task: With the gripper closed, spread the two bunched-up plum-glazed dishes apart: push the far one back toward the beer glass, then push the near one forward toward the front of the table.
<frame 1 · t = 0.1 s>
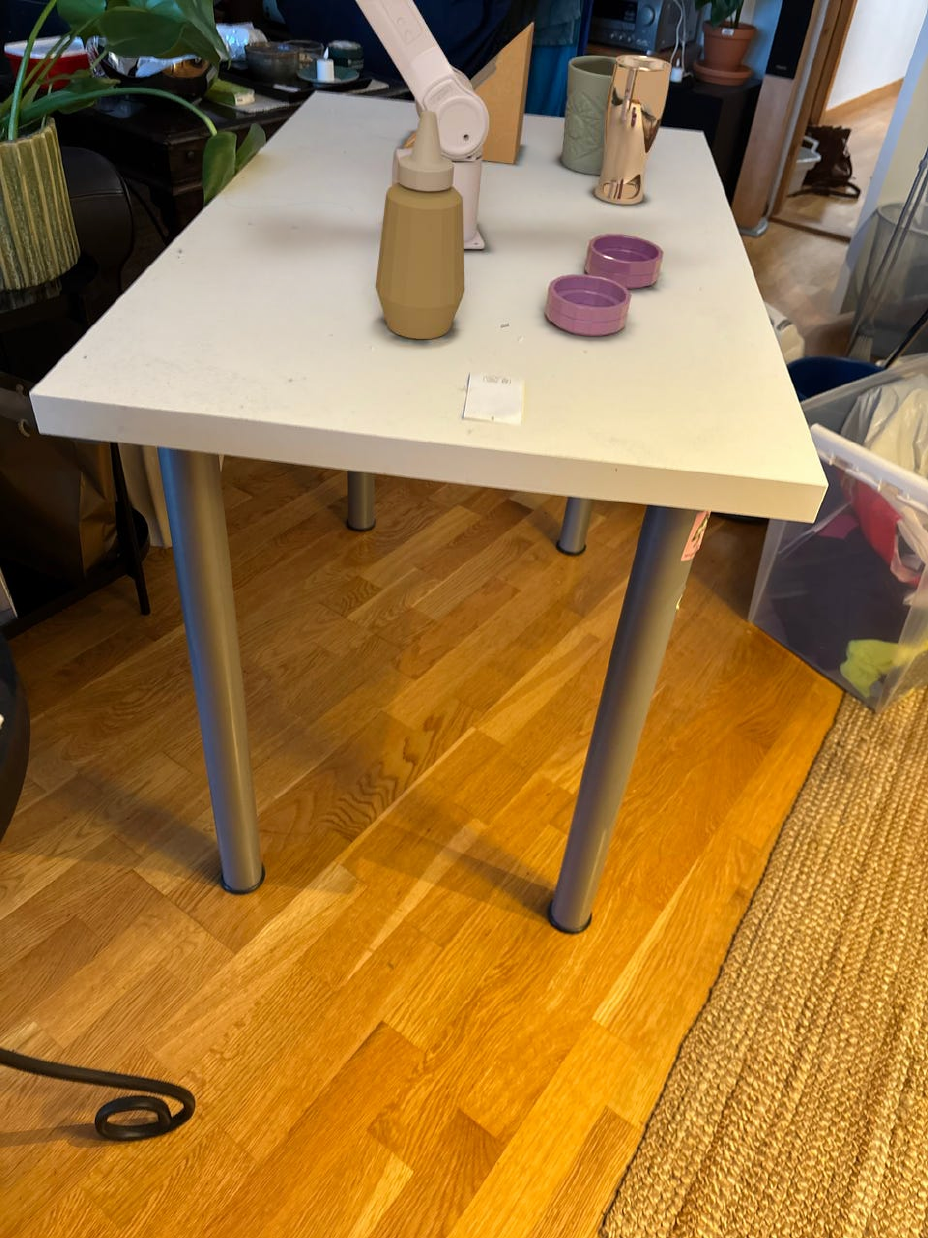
green vase: (591, 166, 124), on the table
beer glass: (617, 197, 116), on the table
squeeze bottle: (418, 328, 85), on the table
dish near: (584, 320, 88), on the table
dish far: (620, 276, 97), on the table
sandwich container: (462, 149, 126), on the table
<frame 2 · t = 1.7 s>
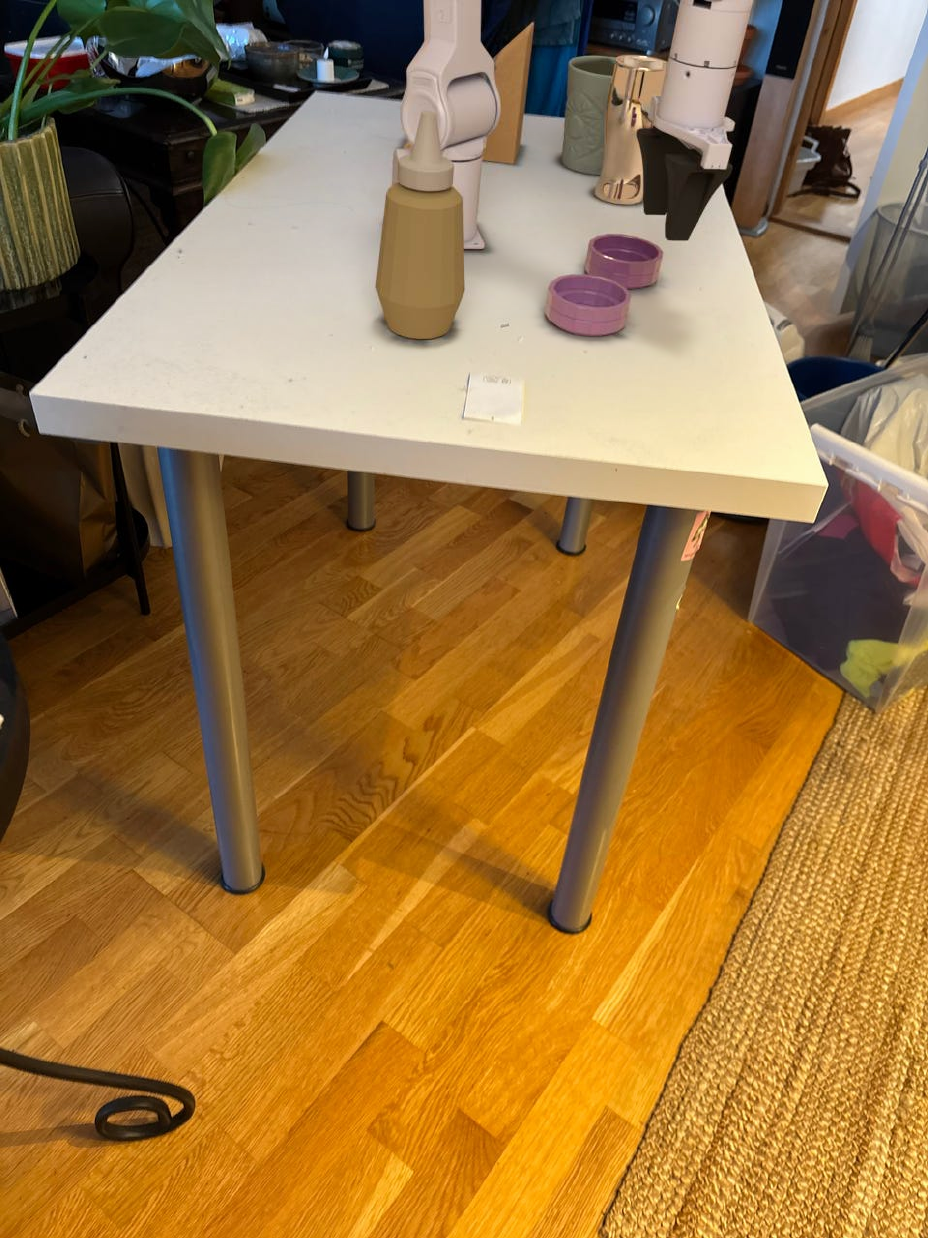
hand: (665, 226, 85), 8 cm above the table, tool pointing down, fingers open, 6 cm apart
nothing on the table moved.
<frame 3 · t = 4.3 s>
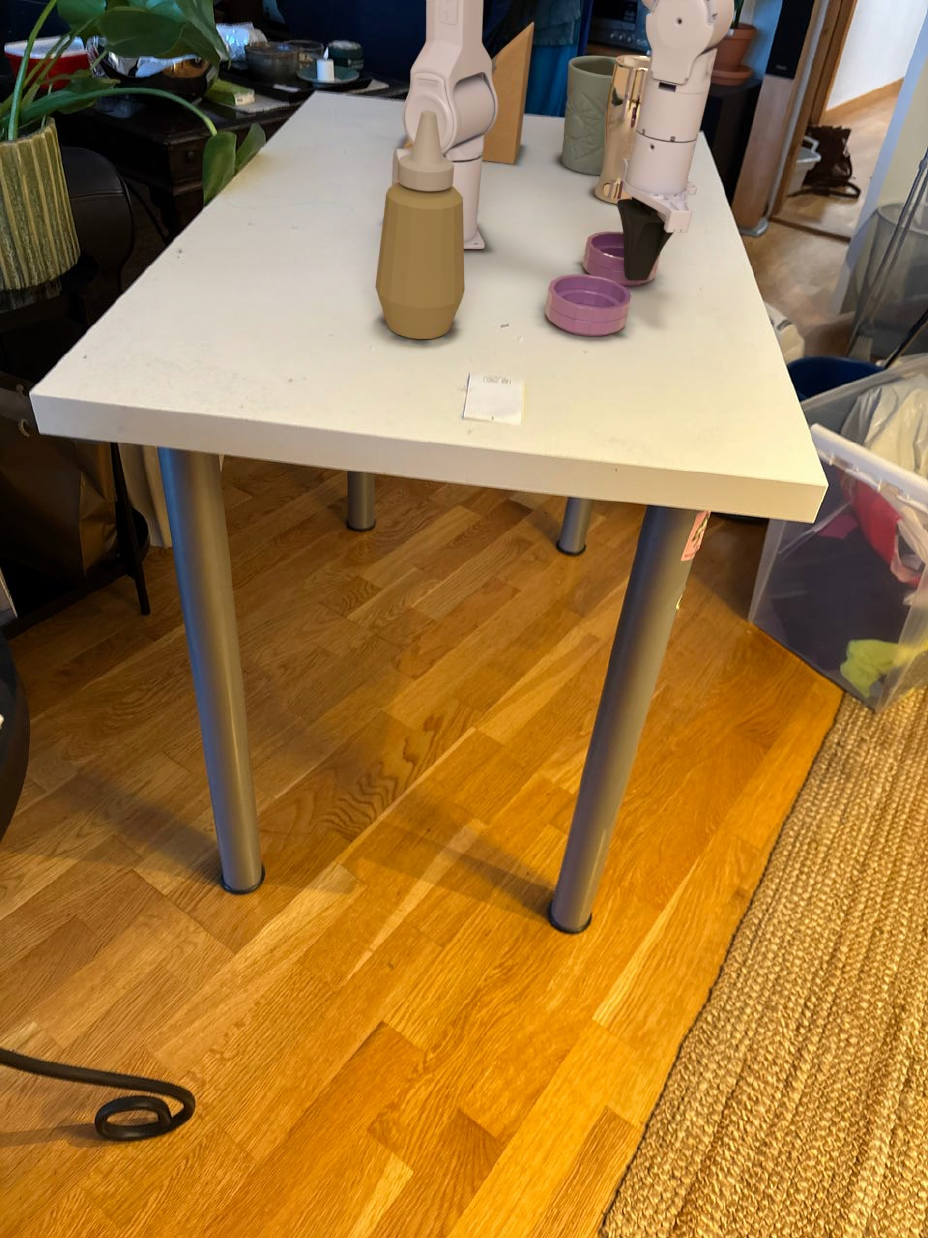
hand: (635, 277, 93), 2 cm above the table, tool pointing down, fingers closed
dish far: (618, 273, 98), on the table, touching gripper
everything else where it was.
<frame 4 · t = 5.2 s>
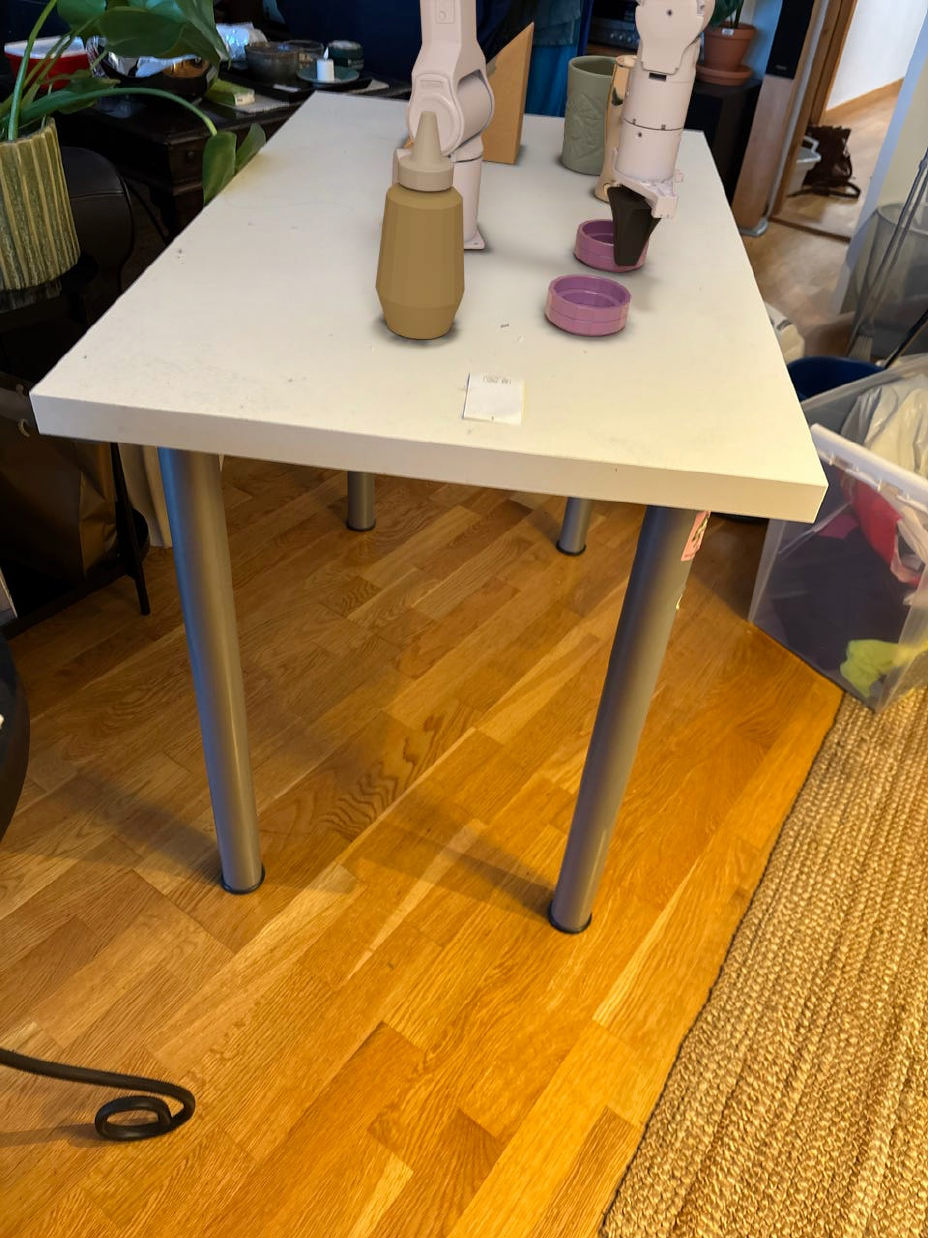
hand: (624, 263, 96), 2 cm above the table, tool pointing down, fingers closed
dish far: (608, 259, 100), on the table, touching gripper
everything else where it was.
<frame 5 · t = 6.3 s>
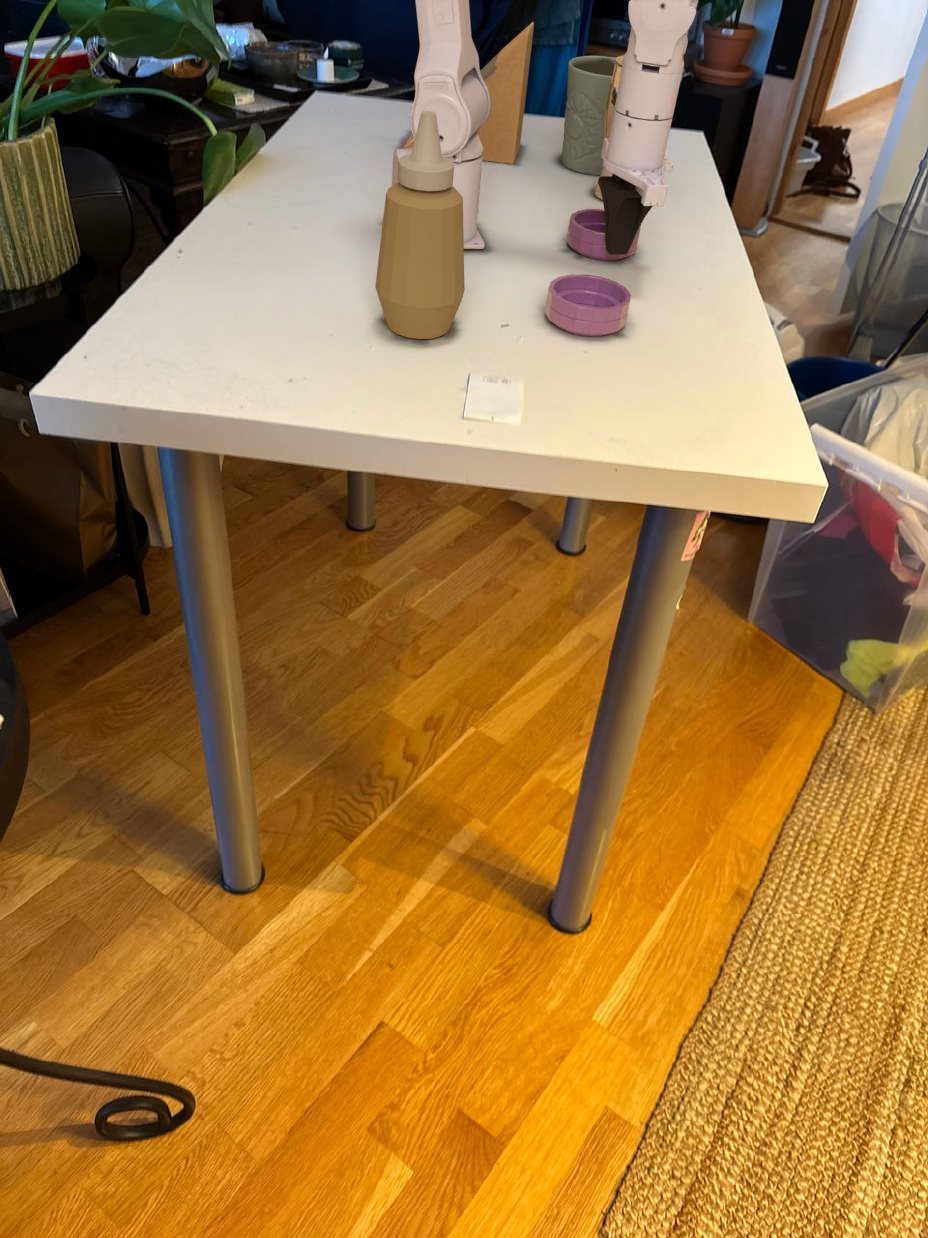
hand: (616, 251, 98), 2 cm above the table, tool pointing down, fingers closed
dish far: (600, 248, 102), on the table, touching gripper
everything else where it was.
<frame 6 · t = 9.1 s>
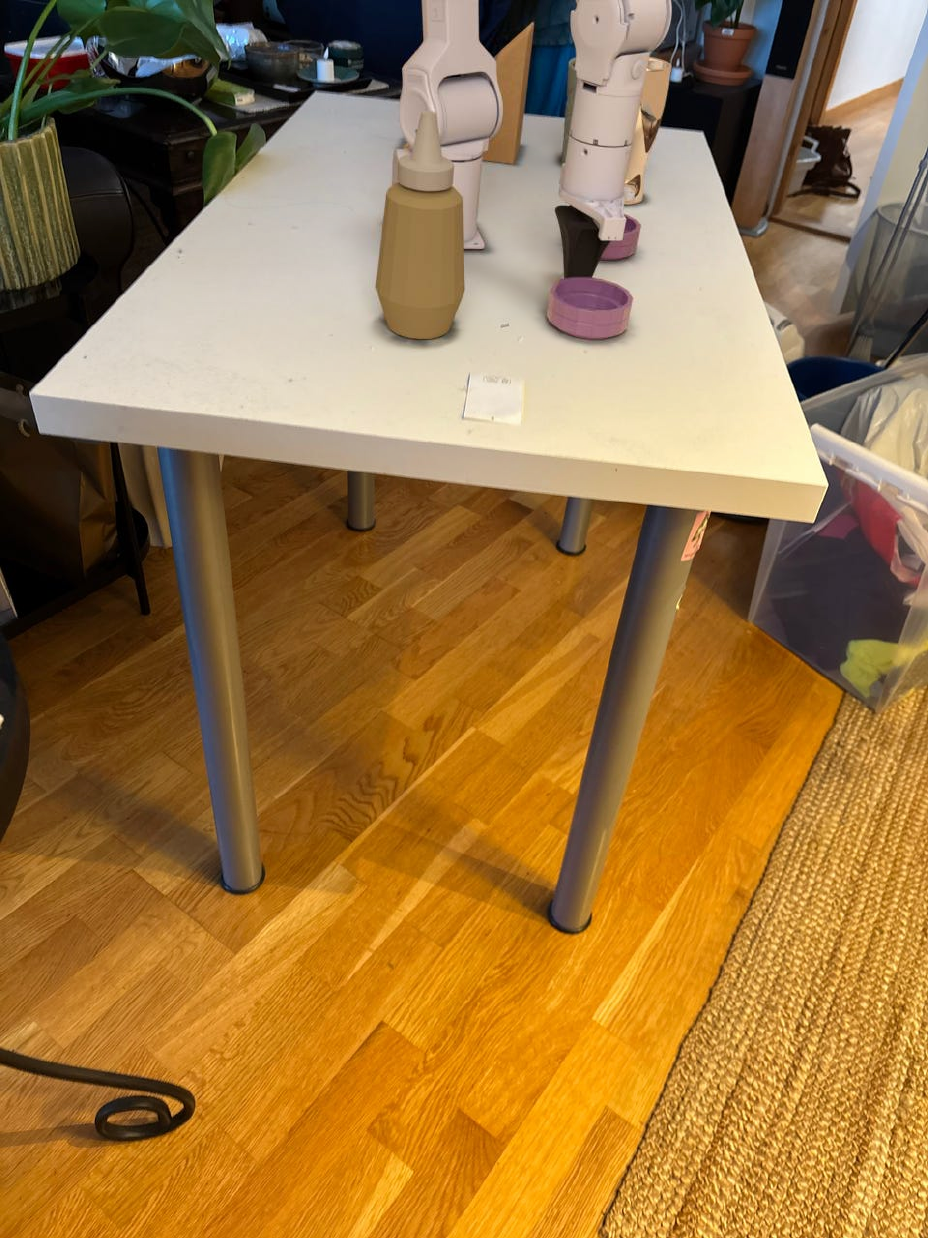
hand: (576, 286, 90), 2 cm above the table, tool pointing down, fingers closed
dish near: (586, 323, 88), on the table, touching gripper
dish far: (600, 248, 102), on the table
everything else where it was.
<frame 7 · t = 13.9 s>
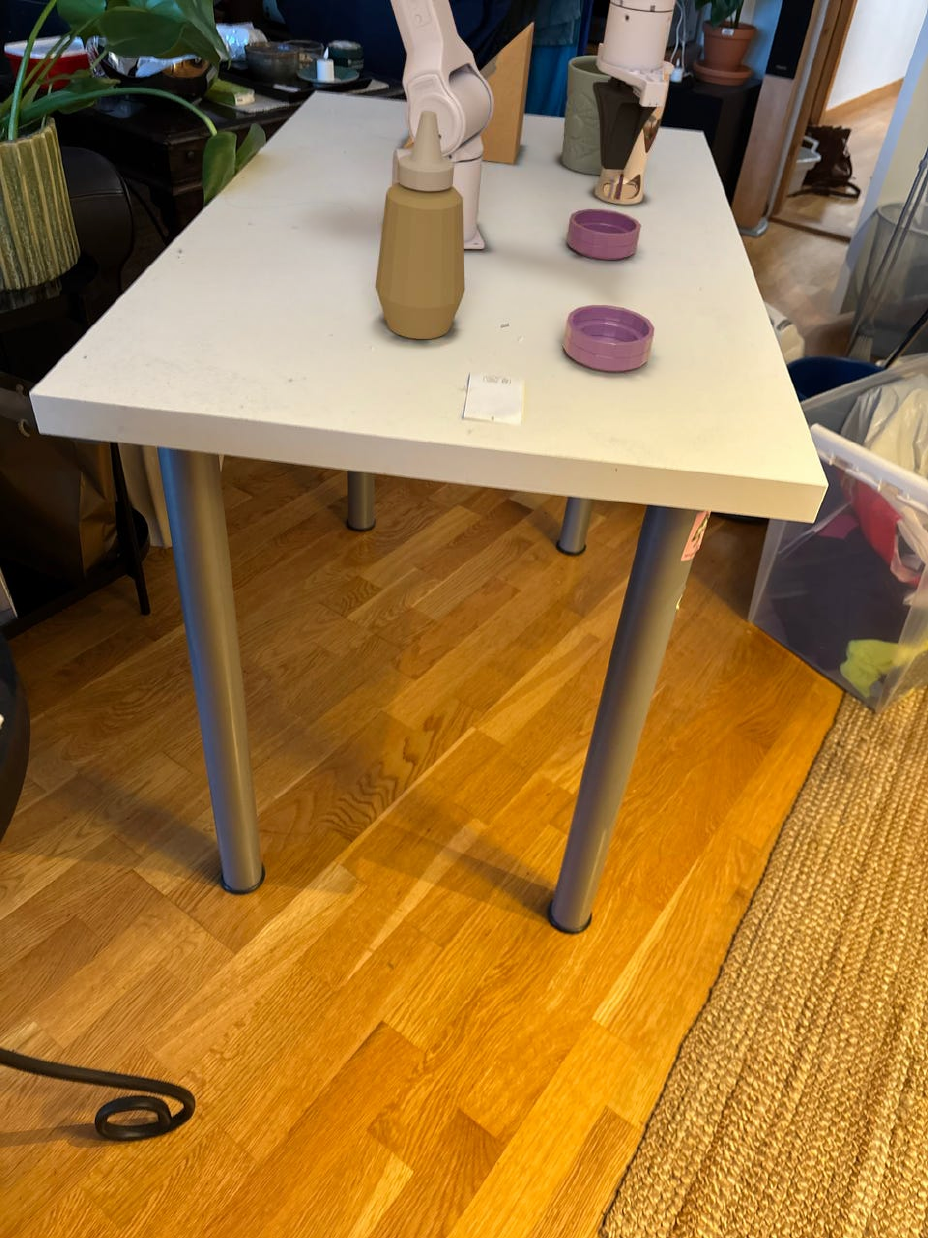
hand: (612, 167, 91), 10 cm above the table, tool pointing down, fingers closed
dish near: (604, 354, 84), on the table
everything else where it was.
at the end: dish far 0.4 cm from the target spot on the table beside the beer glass, on the table; dish near 0.1 cm from the target spot, on the table; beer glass tilted 0° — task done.
